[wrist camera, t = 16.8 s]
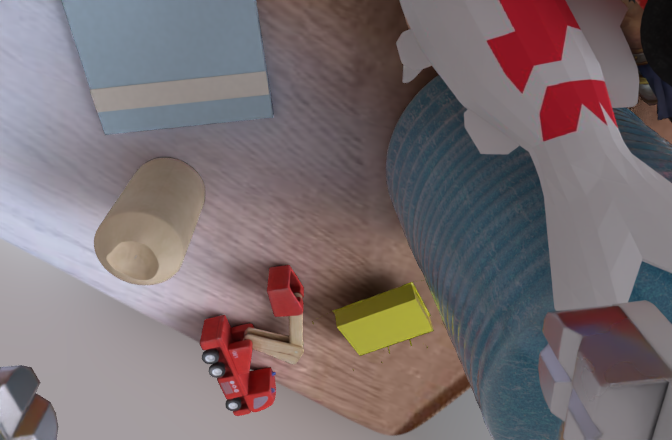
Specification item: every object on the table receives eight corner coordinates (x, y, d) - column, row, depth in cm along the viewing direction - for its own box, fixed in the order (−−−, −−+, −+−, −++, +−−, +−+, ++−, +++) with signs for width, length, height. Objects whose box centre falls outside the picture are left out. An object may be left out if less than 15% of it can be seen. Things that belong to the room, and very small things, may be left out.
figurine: (690, 186, 34) (637, -53, 29) (615, 175, 39) (559, -30, 34) (761, 133, 36) (724, -103, 30) (681, 129, 41) (637, -73, 36)
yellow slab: (312, 323, 44) (309, 296, 46) (354, 372, 50) (350, 346, 52) (428, 281, 42) (419, 254, 44) (457, 338, 48) (448, 312, 50)
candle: (126, 208, 42) (78, 285, 33) (141, 146, 39) (93, 212, 31) (196, 229, 43) (167, 309, 34) (214, 170, 41) (188, 240, 32)
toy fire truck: (232, 422, 50) (334, 401, 49) (177, 311, 43) (295, 285, 42) (236, 393, 52) (332, 373, 52) (184, 285, 45) (295, 260, 45)
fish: (356, 1, 34) (509, -38, 34) (501, 401, 20) (763, 338, 20) (332, -182, 26) (535, -235, 26) (550, 287, 12) (1004, 176, 12)
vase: (619, 194, 43) (985, 524, 20) (431, 275, 46) (555, 641, 23) (566, 0, 35) (1054, 165, 12) (346, 113, 39) (402, 413, 15)
